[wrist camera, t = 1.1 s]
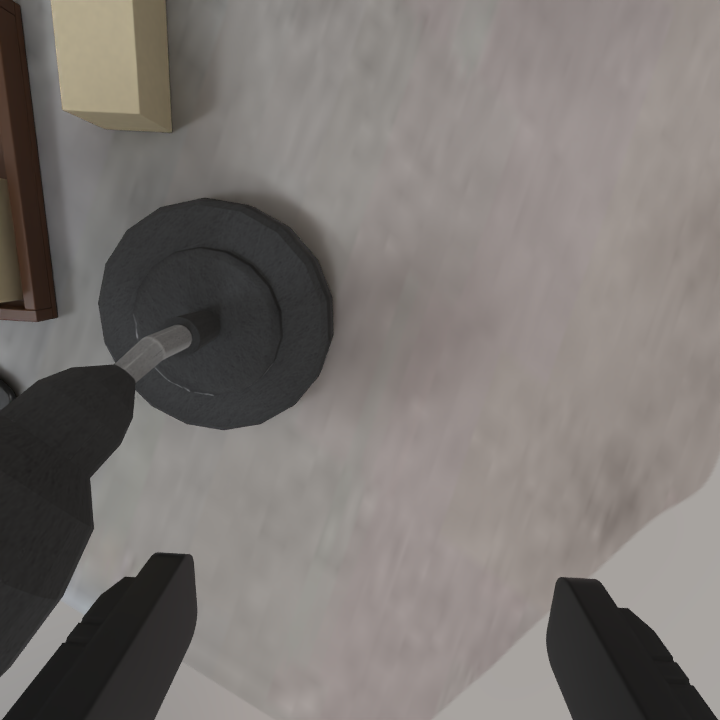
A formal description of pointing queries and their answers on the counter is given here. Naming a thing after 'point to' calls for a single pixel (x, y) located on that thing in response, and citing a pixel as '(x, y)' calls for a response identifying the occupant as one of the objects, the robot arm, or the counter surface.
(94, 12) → the pad
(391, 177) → the counter surface
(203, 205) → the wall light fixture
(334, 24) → the counter surface
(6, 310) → the frame
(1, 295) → the pad
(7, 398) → the smartphone
